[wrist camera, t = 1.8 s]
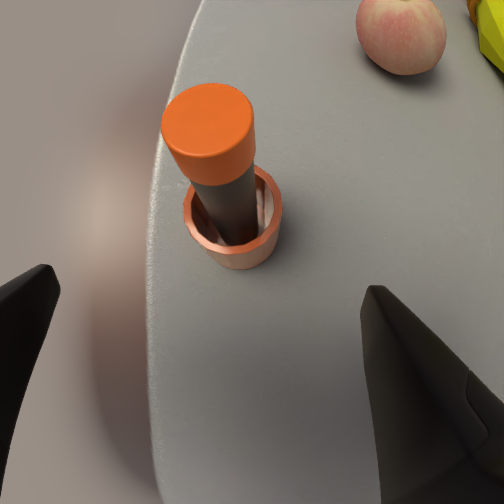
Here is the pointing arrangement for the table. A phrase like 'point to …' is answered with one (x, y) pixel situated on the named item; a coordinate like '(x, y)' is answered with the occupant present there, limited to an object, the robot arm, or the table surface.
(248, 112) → the cylinder
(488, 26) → the plumb bob
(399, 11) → the apple
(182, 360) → the table surface
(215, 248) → the pen cup
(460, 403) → the robot arm
